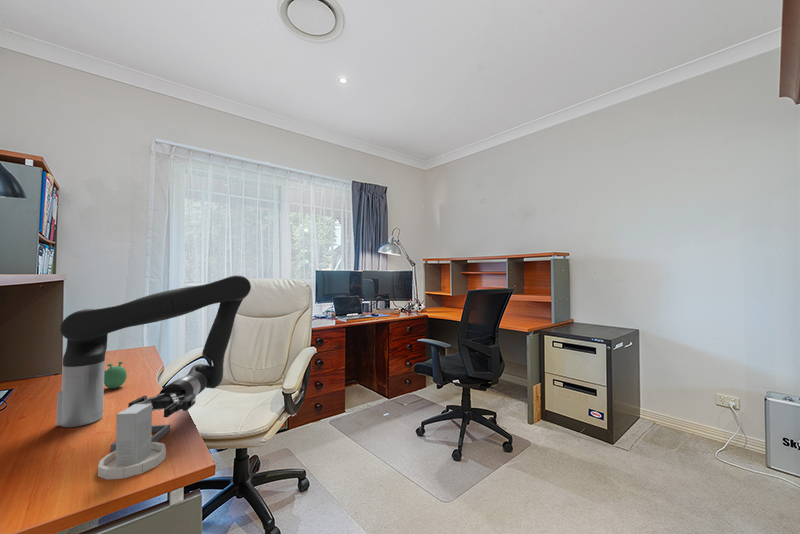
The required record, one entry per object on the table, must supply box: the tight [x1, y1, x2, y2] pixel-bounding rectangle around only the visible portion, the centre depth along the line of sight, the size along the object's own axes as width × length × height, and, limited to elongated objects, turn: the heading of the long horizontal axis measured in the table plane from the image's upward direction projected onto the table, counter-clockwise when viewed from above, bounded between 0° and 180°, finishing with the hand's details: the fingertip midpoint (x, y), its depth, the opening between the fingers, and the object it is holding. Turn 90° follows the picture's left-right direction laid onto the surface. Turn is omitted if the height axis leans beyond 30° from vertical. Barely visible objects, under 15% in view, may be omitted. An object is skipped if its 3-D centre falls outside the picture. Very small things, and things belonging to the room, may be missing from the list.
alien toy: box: [104, 360, 127, 390], centre depth 130 cm, size 7×8×10 cm
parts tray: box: [110, 424, 171, 452], centre depth 88 cm, size 8×10×2 cm
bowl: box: [97, 441, 167, 480], centre depth 77 cm, size 12×12×2 cm
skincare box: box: [115, 403, 153, 467], centre depth 77 cm, size 6×4×12 cm
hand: (146, 414), depth 82 cm, fingers open, 8 cm apart
